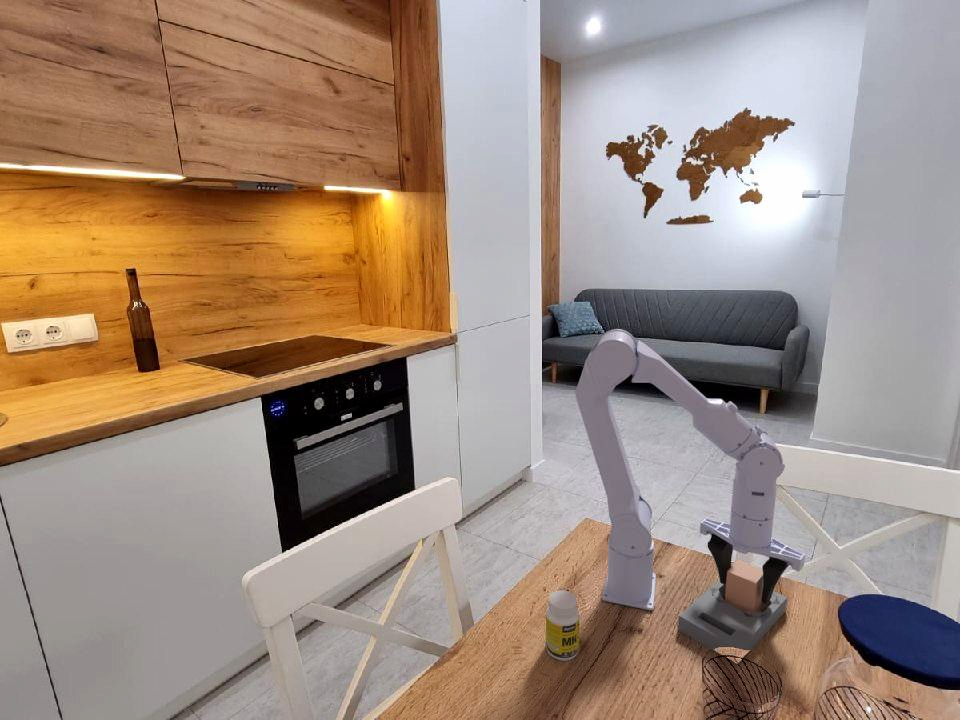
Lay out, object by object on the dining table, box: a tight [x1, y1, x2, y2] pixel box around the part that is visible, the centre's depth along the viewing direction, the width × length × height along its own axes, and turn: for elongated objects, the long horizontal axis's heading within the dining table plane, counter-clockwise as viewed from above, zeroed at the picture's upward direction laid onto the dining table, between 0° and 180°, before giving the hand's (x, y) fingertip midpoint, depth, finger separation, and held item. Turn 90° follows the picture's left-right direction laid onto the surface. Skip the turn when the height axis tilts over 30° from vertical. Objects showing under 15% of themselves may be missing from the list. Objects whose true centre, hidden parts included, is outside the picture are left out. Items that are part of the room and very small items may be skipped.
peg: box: [724, 559, 764, 612], centre depth 82 cm, size 4×4×7 cm
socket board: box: [677, 579, 788, 651], centre depth 80 cm, size 16×9×2 cm, turn 129°
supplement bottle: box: [545, 589, 580, 662], centre depth 75 cm, size 5×5×8 cm
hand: (745, 589), depth 82 cm, fingers open, 6 cm apart
